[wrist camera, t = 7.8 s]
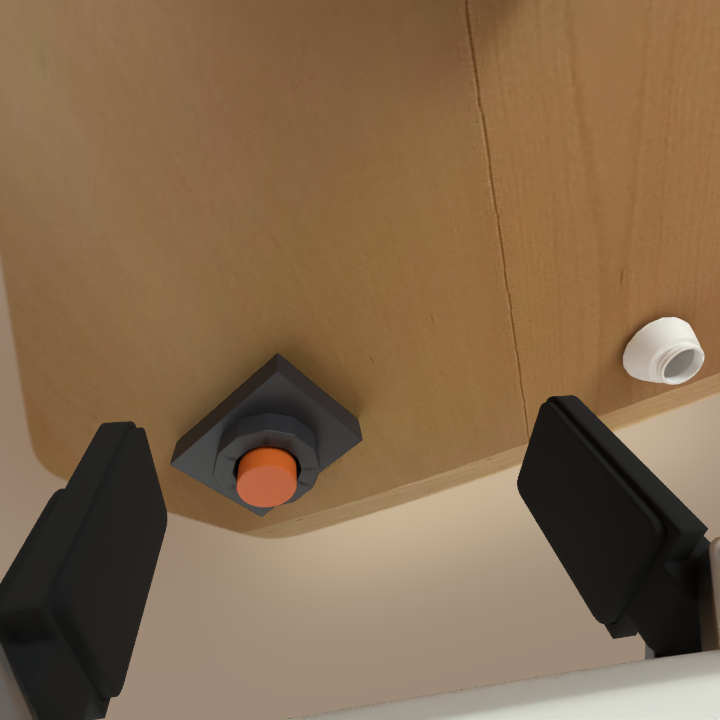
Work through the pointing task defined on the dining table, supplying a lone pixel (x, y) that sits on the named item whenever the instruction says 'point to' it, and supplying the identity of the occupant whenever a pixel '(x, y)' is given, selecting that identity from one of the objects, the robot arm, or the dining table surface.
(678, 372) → the white jar
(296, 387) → the button block
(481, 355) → the dining table surface
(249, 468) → the button
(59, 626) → the robot arm
